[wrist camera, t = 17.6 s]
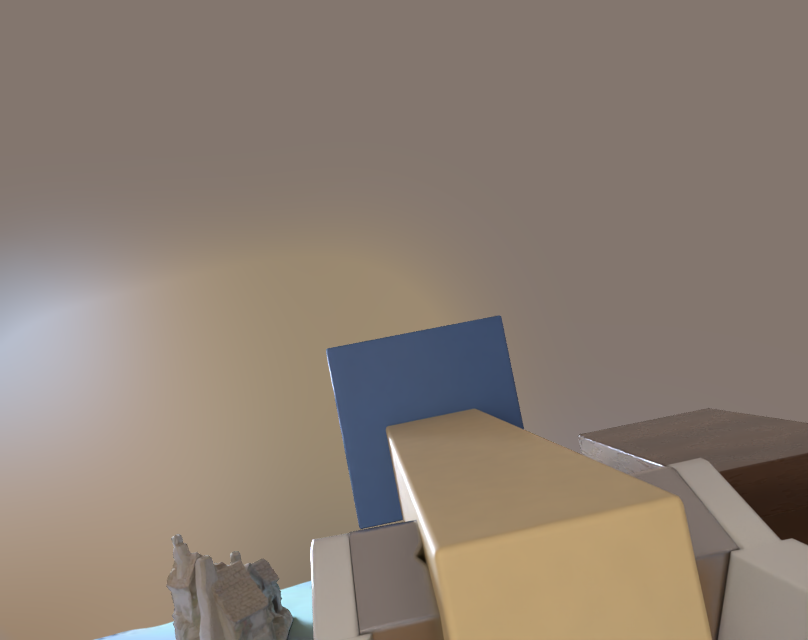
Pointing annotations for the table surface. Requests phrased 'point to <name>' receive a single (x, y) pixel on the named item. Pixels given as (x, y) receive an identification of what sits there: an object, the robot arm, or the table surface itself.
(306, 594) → the table surface
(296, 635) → the table surface
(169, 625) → the table surface
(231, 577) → the ceramic cottage
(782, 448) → the shelf stand
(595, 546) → the toy hammer
